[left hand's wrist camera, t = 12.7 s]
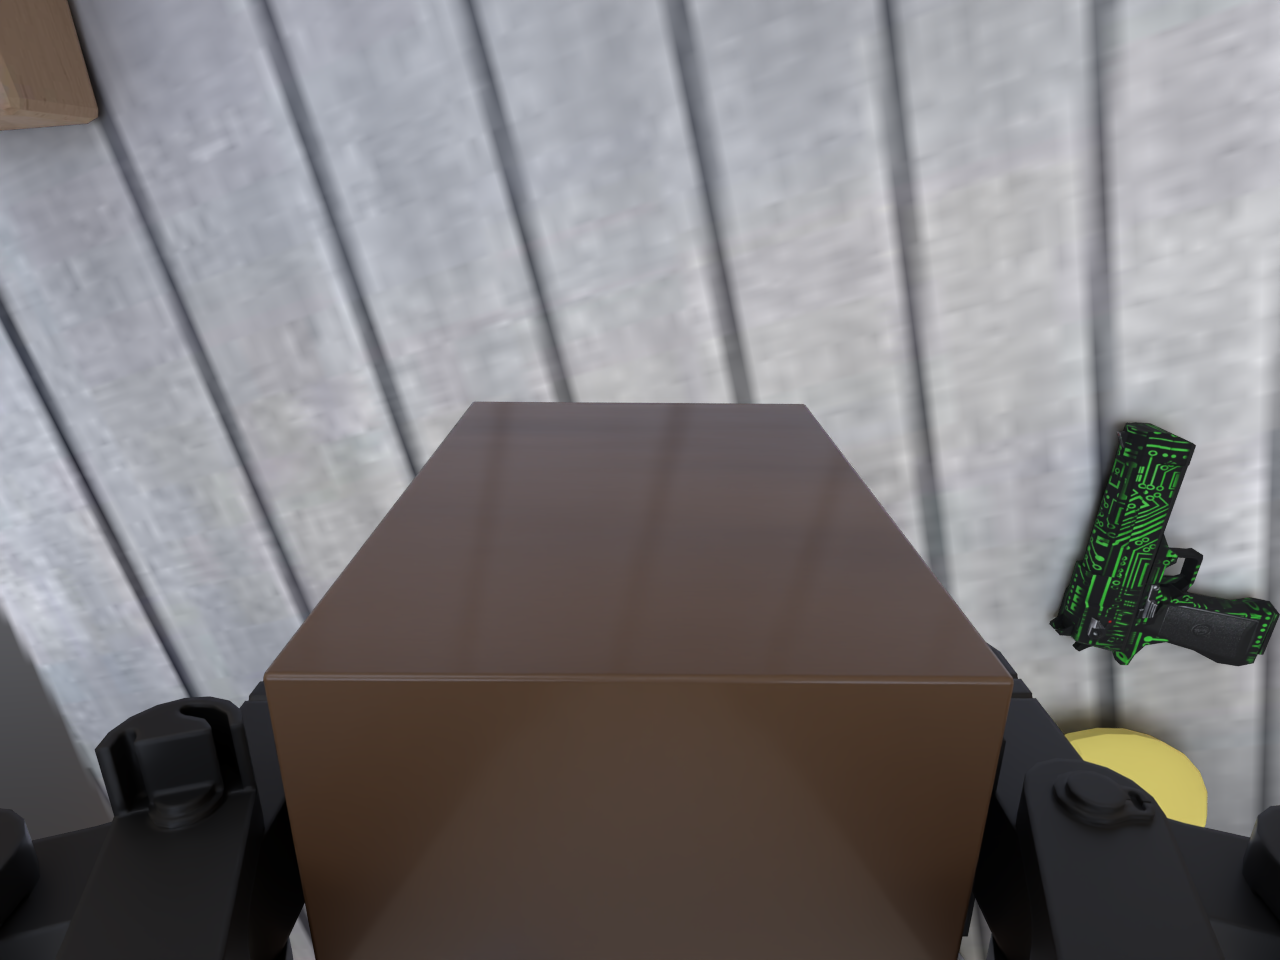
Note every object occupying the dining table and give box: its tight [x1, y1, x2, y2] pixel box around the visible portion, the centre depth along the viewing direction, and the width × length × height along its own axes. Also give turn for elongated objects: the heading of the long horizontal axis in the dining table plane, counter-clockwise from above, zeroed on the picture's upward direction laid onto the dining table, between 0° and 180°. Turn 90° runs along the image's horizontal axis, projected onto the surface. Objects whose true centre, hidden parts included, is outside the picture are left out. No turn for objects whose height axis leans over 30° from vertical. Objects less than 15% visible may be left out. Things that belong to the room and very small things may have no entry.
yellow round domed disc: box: [1065, 728, 1207, 827], centre depth 56 cm, size 16×16×7 cm
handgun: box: [1049, 423, 1280, 666], centre depth 51 cm, size 16×3×15 cm
